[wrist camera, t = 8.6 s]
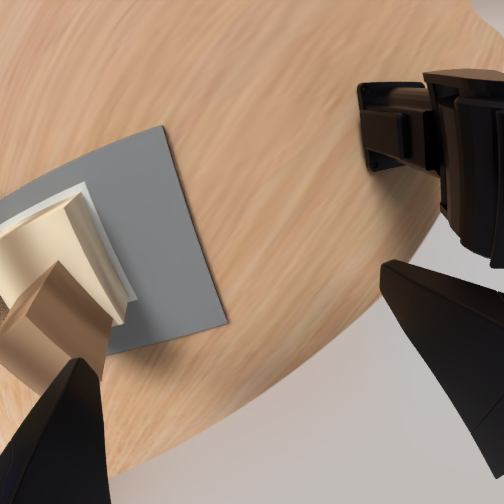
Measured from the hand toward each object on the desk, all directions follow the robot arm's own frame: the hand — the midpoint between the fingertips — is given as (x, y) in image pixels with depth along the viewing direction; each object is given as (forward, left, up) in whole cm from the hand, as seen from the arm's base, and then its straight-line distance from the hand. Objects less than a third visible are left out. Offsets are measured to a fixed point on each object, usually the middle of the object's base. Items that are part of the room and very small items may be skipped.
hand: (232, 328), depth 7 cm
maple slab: (+11, +1, -11) cm, 16 cm away
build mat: (+9, +3, -12) cm, 15 cm away
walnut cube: (+10, +3, -8) cm, 14 cm away
